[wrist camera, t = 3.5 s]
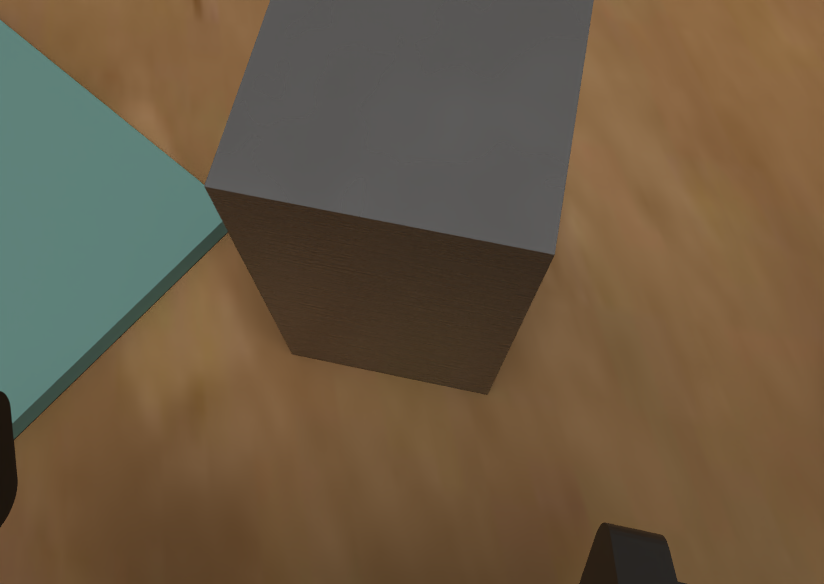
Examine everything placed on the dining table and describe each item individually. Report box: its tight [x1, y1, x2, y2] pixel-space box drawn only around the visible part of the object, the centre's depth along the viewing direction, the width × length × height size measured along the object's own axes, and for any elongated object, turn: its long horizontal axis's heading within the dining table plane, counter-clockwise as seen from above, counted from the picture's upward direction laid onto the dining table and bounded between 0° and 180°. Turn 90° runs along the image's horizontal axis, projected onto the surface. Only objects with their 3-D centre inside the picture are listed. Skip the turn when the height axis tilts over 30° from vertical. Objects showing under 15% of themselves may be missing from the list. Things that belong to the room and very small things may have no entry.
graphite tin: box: [204, 0, 594, 395], centre depth 19 cm, size 6×6×11 cm
